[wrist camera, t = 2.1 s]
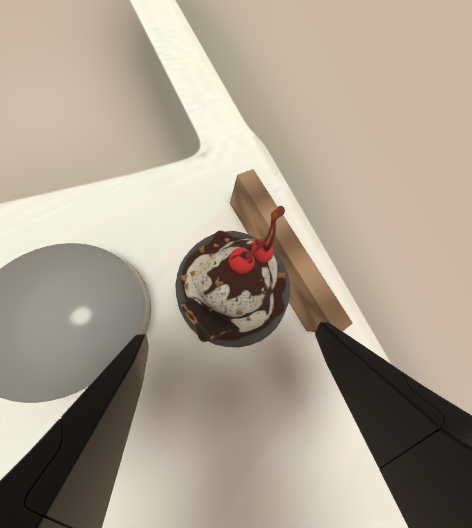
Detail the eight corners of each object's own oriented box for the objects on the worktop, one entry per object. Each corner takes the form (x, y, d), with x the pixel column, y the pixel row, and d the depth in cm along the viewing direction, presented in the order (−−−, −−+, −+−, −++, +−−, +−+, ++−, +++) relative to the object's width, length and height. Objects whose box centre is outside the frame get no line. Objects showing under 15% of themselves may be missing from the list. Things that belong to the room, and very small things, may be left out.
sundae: (240, 264, 22) (317, 166, 7) (254, 322, 20) (385, 339, 6) (183, 274, 20) (141, 176, 6) (194, 338, 19) (171, 414, 4)
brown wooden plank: (319, 321, 21) (352, 323, 17) (306, 330, 21) (337, 335, 16) (242, 197, 24) (253, 169, 19) (230, 203, 24) (237, 174, 19)
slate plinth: (170, 337, 18) (165, 341, 15) (28, 419, 15) (-13, 444, 12) (122, 236, 20) (109, 223, 17) (-15, 288, 16) (-59, 283, 14)
